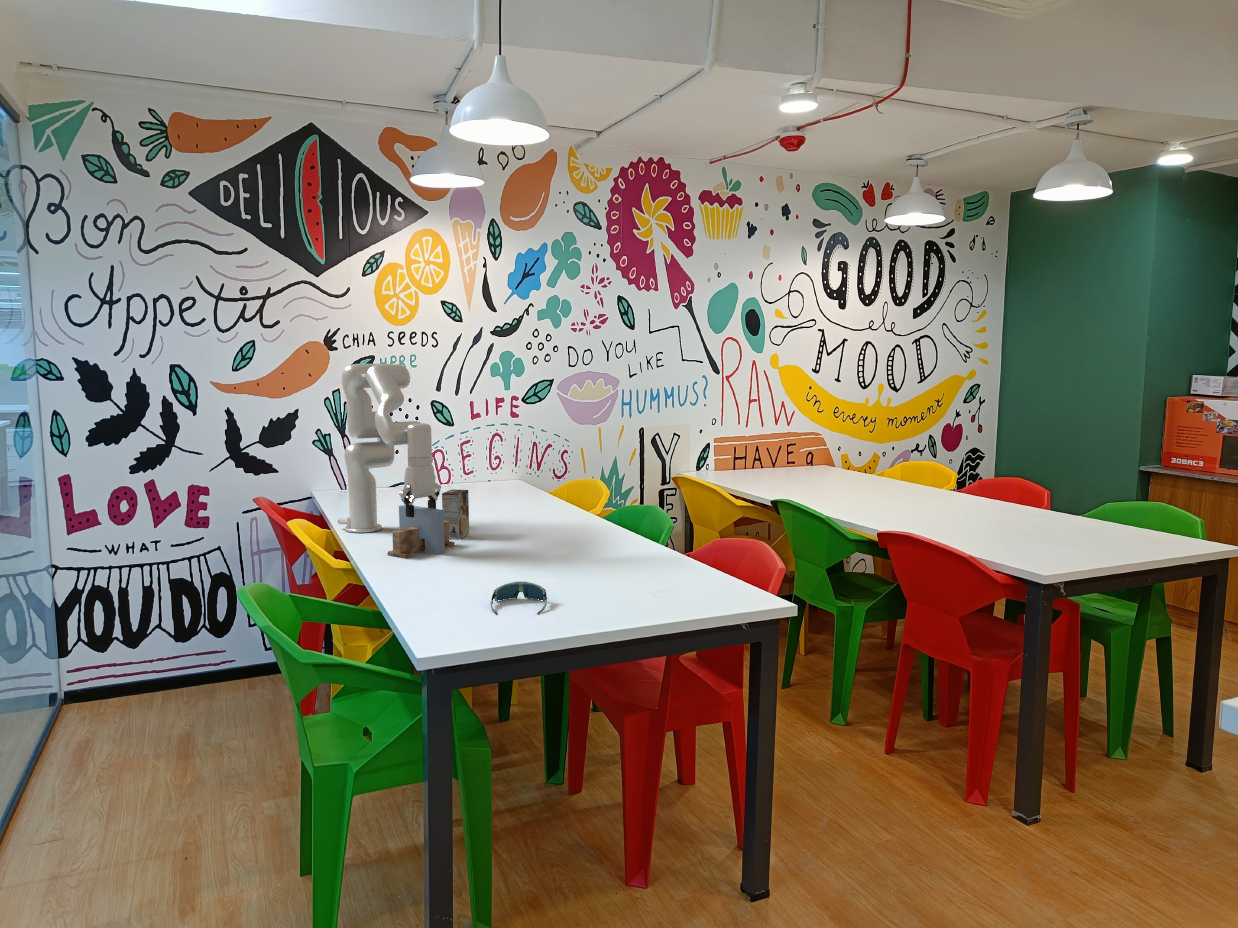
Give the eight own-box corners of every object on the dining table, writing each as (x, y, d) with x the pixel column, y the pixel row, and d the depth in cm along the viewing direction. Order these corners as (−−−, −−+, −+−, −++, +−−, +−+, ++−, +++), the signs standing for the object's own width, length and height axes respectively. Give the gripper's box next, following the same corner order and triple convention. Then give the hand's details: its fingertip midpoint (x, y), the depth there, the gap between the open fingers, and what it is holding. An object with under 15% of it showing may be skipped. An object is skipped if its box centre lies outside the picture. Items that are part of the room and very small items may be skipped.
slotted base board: (405, 558, 266) (404, 533, 265) (387, 555, 270) (386, 530, 269) (454, 545, 284) (454, 522, 283) (437, 542, 289) (436, 519, 288)
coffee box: (452, 533, 304) (451, 488, 301) (469, 534, 302) (469, 489, 300) (442, 538, 295) (441, 492, 293) (459, 539, 293) (459, 493, 291)
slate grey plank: (444, 552, 274) (443, 509, 272) (438, 554, 272) (437, 511, 270) (406, 546, 283) (405, 504, 281) (400, 547, 280) (398, 506, 279)
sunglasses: (548, 598, 225) (548, 580, 224) (545, 623, 211) (545, 604, 209) (494, 598, 224) (494, 580, 223) (488, 623, 210) (487, 604, 209)
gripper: (431, 458, 283) (432, 509, 285) (391, 464, 268) (392, 517, 271) (447, 460, 279) (448, 511, 281) (408, 465, 264) (409, 520, 267)
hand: (421, 514), depth 276 cm, fingers open, 9 cm apart
